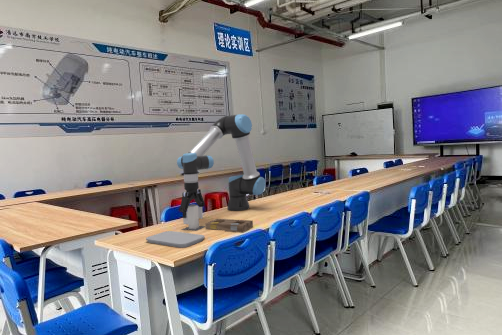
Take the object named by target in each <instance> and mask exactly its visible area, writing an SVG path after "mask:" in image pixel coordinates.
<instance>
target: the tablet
mask: <svg viewBox="0 0 502 335" xmlns="http://www.w3.org/2000/svg"><path fill="white" fill-rule="evenodd" d="M204 238H205V235H204V234H198V233H190V232H183V231H174V230H167V231H162V232H159V233H156V234H154V235H153V234H152V235H150V236H147V237H145V240H146V241H147V243H148V242H149V244H154V243H155V244H156V245H160V244H161V246H166V245H167V246H166V247H172V246H173V247H172V248H178V249H179V248H180V249H181V248H182V249H183V248H184V249H185V248H188V247H191V246H193V245H195V244H198V243H200V242H203V241H204ZM155 244H154V245H155Z"/></svg>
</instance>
